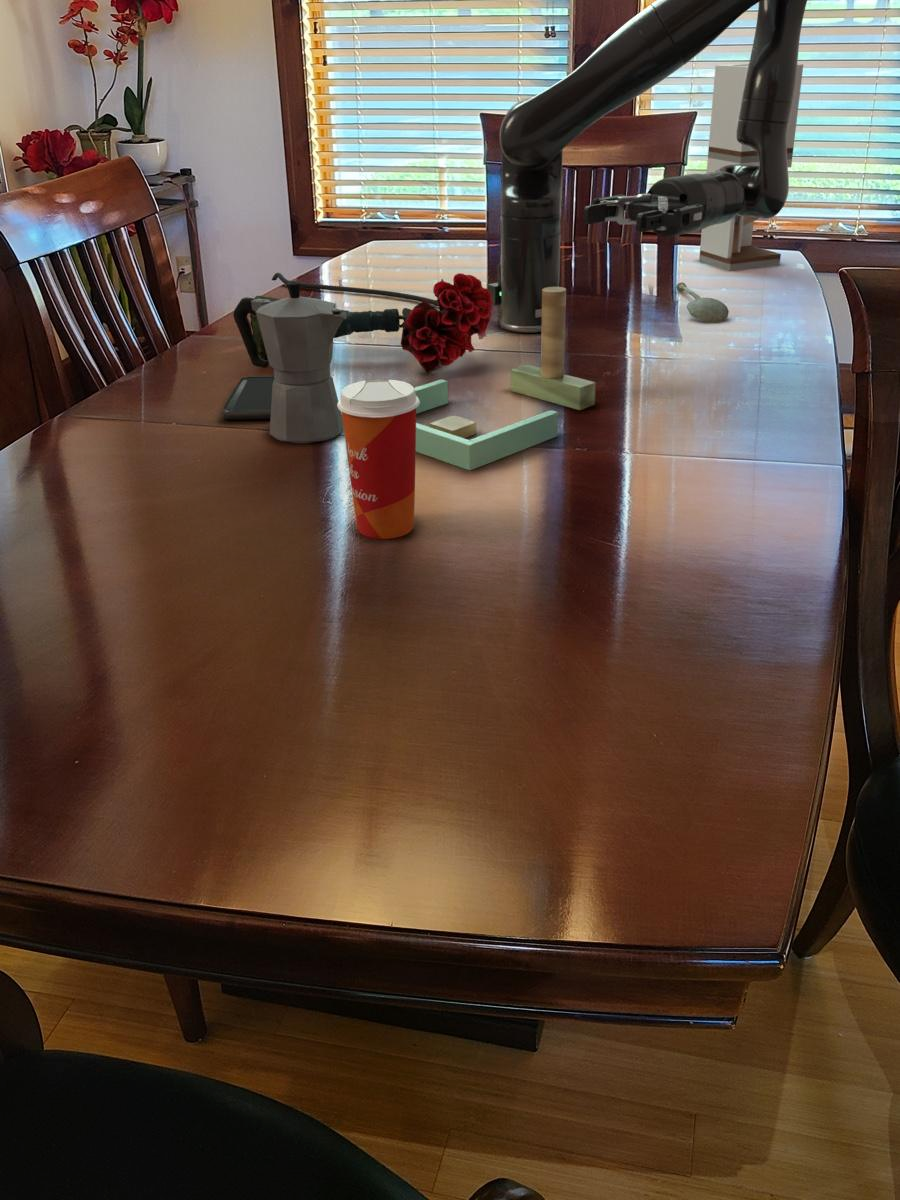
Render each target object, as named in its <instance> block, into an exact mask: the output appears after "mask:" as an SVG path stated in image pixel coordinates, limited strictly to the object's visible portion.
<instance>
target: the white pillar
mask: <svg viewBox="0 0 900 1200" xmlns="http://www.w3.org/2000/svg"><path fill="white" fill-rule="evenodd" d="M748 66H749V63H736V64H735V63H733V64H715V66H714V79H713V80H714V81H713V90H712V91H713V92H712V102H711V114H710V125H709V126H710V127H709V139H708V149H707V160H706V161H707V162H706V173H711V172H715V171H716V170H718V169H720V168H721V167H723V166H726V165H733V164H743V165H754V166H759V159H758V155H757V152H756V150H755V149H753V148H750V147H747V146H744V145H742V144H740V143H739V142H738V141H737V138H736V132H737V125H738V120H739V113H740V107H741V101H742V96H743V90H744V85H745V80H746V75H747V71H748ZM803 71H804V64H801V63H797V73H796V82H795V90H794V96H793V102H792V107H791V112H790V118H789V123H788V128H787V136H786V141H787V165H788V168H792V166H793V165H792V163H793V156H794V147H795V139H796V130H797V121H798V114H799V107H800V106H799V104H800V97H801V88H802V80H803ZM759 219H760V218H754V217H746V216H738V215H736V216H735V217H734V218H732V219H731V220H729V221H727V222H724V223H721V224H716V225H712V226H708V227H706V228H704V229H702V230H701V236H700V247H699V257H698V260H699V262H702V263H704V264H708V265H710V266H711V265H712V266H714V267H718V268H720V269H723V270H727V271H730V272H731V271H738V270H739V271H740V270H747V269H756V268H764V267H773V266H780V264H781V258H782V253H779V252H776V251H772V250H769V249H765V248H761V247H758V246H755V245H752V242H753V241H752V240H753V234H754V233H753V232H754V222H755V221H757V220H759Z"/></svg>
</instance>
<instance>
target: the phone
mask: <svg viewBox="0 0 900 1200" xmlns="http://www.w3.org/2000/svg"><path fill="white" fill-rule="evenodd" d="M274 379H275V378H274V375H249V376H244V377H242V378H240V379H239V381H238V383H237V384H236V386H235V387H234V388H233V390H232V393H231V394H230V396H229V397H228V399H227V400H226V402H225V404H224V405H223V407H222V408H221V411H222V418H223V420H225V421H226V420H227V421H249V420H250V421H252V420H253V421H254V420H270V419H271V402H272V386H273V382H274Z"/></svg>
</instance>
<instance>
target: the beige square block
mask: <svg viewBox="0 0 900 1200" xmlns="http://www.w3.org/2000/svg"><path fill="white" fill-rule="evenodd" d="M429 427H430V428H434V429H437V430H440V431H443V432H446V433H449V434H452V435H455V436H458V437H461V438H464V439H468V438H470V437H472V436H475V435H477V422H476V421H473V420H469V419H467V418H463V417H461V416H458V415H454V414H453V415H450V416H447V417H444V418H441V419H438V420H435V421H432V422H430V423H429Z"/></svg>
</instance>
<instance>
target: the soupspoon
mask: <svg viewBox="0 0 900 1200" xmlns="http://www.w3.org/2000/svg"><path fill="white" fill-rule="evenodd" d="M675 288H676V291H677V292H679V293H684V292H686V293H688V294H689V295H690V296H692V297H693V298H694V300H692V301H689V302H688V303H687V304H686V309H687V311H688V313H689V315H690V316H692V317H693V318H695V319H696V320H699V321H702V322H706V323H718V322H723V321H724V320H726V319H727V318H728V317H729V315H730V314H729V312H730V311H729V309H728V307H727V304H725V303H724V302H722V301H720V300H719V299H717V298H712V297H701V296H700V295H699V294H697V293H696V292H695V291H693V290H692V289H690V288H688V286H687V285H686V283H685V282H678V283H677V284H676V286H675Z"/></svg>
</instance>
